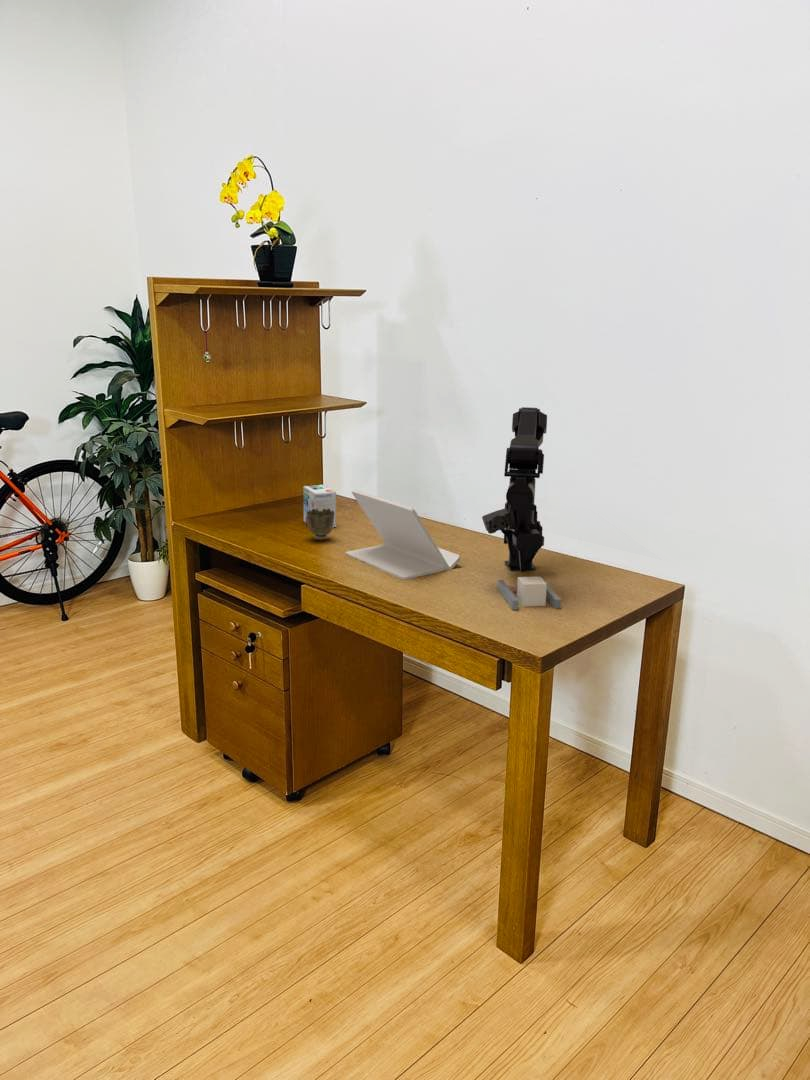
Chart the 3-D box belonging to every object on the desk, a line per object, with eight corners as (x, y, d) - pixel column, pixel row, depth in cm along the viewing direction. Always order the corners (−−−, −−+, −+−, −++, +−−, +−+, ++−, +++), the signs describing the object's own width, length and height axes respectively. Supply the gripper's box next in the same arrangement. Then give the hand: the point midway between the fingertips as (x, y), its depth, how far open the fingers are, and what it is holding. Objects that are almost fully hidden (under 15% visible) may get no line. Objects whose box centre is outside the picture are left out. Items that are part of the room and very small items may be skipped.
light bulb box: (302, 521, 241) (302, 485, 238) (324, 519, 243) (324, 484, 240) (314, 530, 231) (314, 493, 228) (337, 528, 234) (336, 491, 231)
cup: (335, 536, 226) (335, 507, 223) (334, 543, 219) (333, 514, 216) (308, 536, 225) (307, 507, 223) (306, 543, 218) (305, 514, 216)
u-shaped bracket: (497, 588, 185) (497, 579, 185) (542, 586, 187) (542, 578, 186) (512, 609, 172) (512, 601, 172) (560, 608, 173) (561, 599, 173)
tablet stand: (403, 580, 190) (404, 509, 186) (344, 555, 209) (343, 490, 205) (462, 567, 201) (464, 499, 196) (400, 544, 220) (401, 481, 215)
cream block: (516, 598, 179) (517, 577, 178) (538, 598, 180) (540, 576, 178) (522, 606, 174) (523, 584, 173) (545, 606, 175) (546, 583, 174)
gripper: (477, 490, 191) (475, 554, 195) (495, 510, 173) (492, 579, 178) (524, 490, 192) (520, 553, 197) (546, 509, 175) (542, 578, 179)
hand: (518, 565), depth 187 cm, fingers open, 9 cm apart
